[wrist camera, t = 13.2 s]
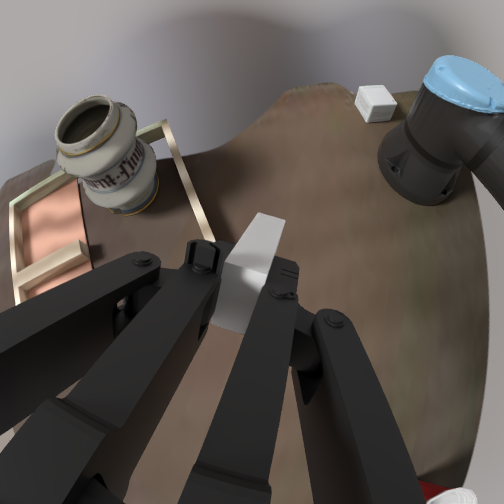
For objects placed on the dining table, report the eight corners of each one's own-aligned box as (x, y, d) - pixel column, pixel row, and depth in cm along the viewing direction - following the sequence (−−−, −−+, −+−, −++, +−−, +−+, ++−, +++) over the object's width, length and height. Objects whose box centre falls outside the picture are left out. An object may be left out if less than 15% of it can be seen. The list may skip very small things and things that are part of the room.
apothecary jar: (90, 219, 45) (28, 158, 28) (113, 158, 49) (69, 88, 32) (154, 226, 44) (102, 156, 27) (174, 160, 48) (142, 79, 31)
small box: (377, 101, 53) (383, 84, 48) (390, 121, 51) (398, 104, 46) (353, 103, 52) (358, 85, 48) (366, 123, 50) (373, 106, 46)
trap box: (240, 299, 41) (238, 295, 38) (42, 376, 37) (31, 376, 34) (170, 129, 51) (166, 118, 48) (18, 209, 47) (9, 202, 44)
